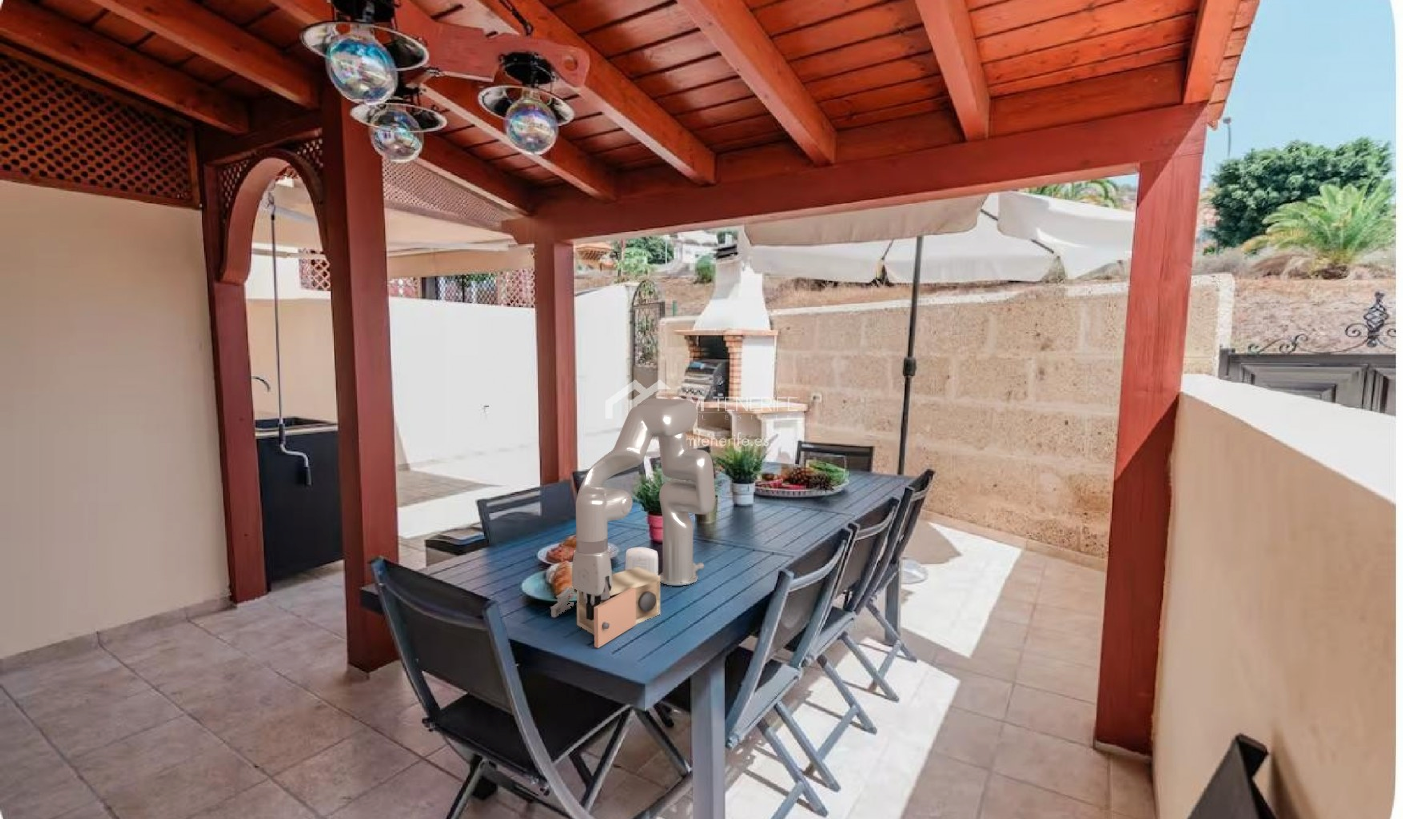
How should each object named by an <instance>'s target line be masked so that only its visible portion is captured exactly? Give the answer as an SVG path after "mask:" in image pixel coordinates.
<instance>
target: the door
mask: <svg viewBox="0 0 1403 819" xmlns="http://www.w3.org/2000/svg"><path fill="white" fill-rule="evenodd" d="M636 625H637V624H636V588H630V589H628V590H626V591H624V592H622V593H620V594H619V595H617V596H615V597H613V598H611V599H609V600H607V601H605V602H603V603H601V604H600V605H598V606H596V607H594V635H593V636H594V640H593V641H594V646H593V647H594V648H598V649H599V648H601V647H603V646H604V645H606V644H607V643H609V642H610V641H612V640H614V639H615V638H617V637H619V636H620V635H621V634H624V633H625V632H627V631H629V630H630V629H632V628H633V627H635V626H636Z"/></svg>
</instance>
